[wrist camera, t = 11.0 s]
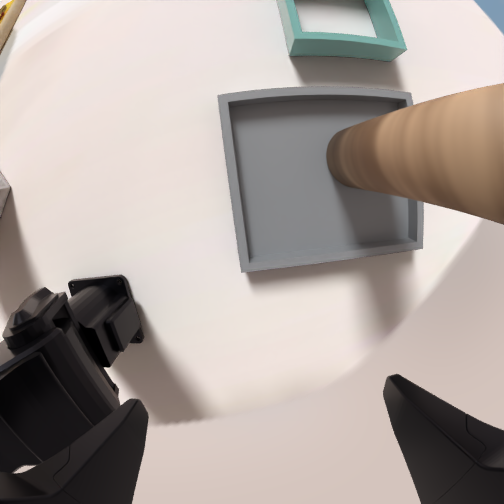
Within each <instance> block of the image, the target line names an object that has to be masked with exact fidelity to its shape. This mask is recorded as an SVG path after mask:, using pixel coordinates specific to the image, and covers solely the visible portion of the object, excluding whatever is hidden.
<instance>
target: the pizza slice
mask: <svg viewBox="0 0 504 504" xmlns="http://www.w3.org/2000/svg"><path fill="white" fill-rule="evenodd" d="M25 2H26V0H12V1H11V2H9V3H7V4H6V5H4V6H3V7H2V8H1V9H0V55H1V53H2V51H3V48H4V47H5V45H6V43H7V41H8V39H9V37H10V35H11V33H12V31H13V30H14V28H12V27H13V25H14V23H15V21H16V19H17V17H18V16H19V14H20V12H21V10H22V8H23V6H24V4H25Z"/></svg>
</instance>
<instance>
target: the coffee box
mask: <svg viewBox="0 0 504 504" xmlns="http://www.w3.org/2000/svg"><path fill="white" fill-rule="evenodd" d="M9 190H10V185H9V184H8V182H7V181H6V180H5V178H4V177H3V175H2V174H1V172H0V217H1V214H2V211H3V208H4V205H5V202H6V199H7V196H8V193H9Z"/></svg>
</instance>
